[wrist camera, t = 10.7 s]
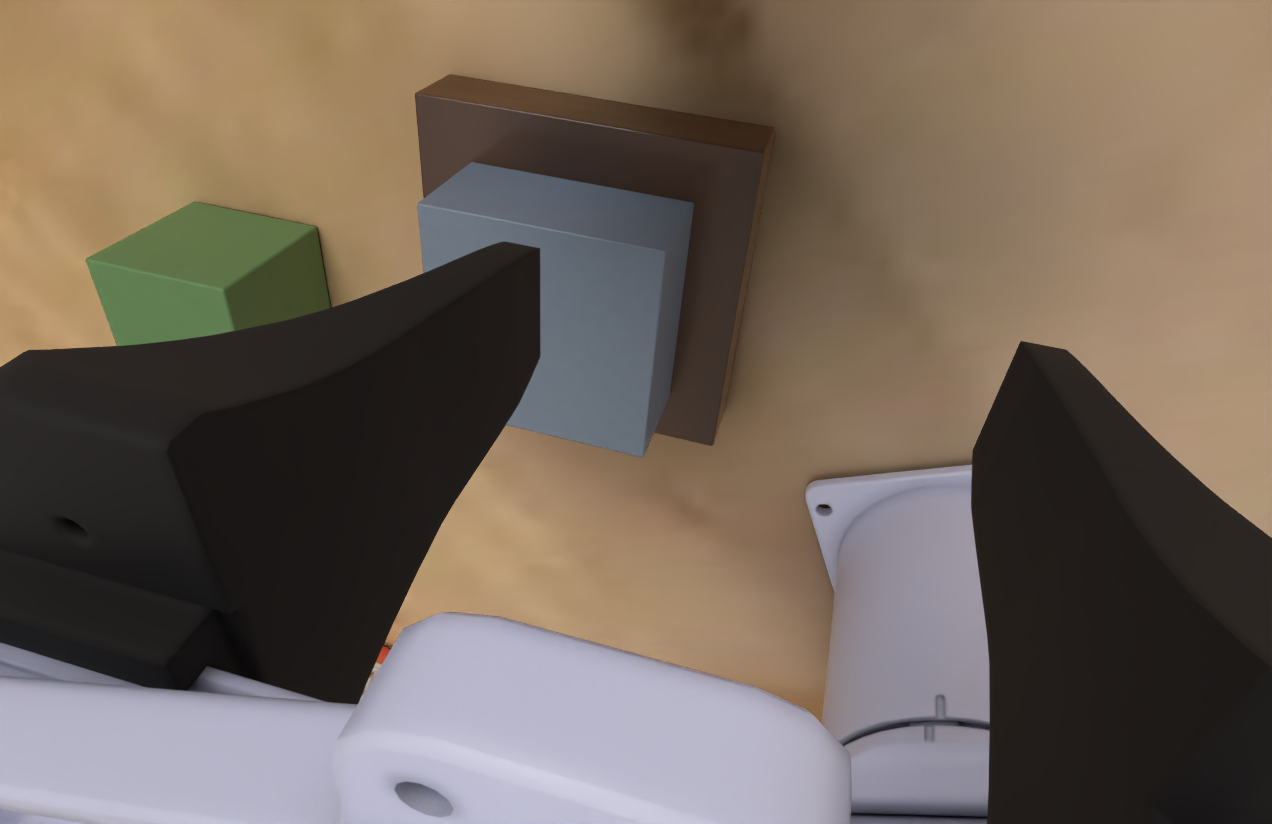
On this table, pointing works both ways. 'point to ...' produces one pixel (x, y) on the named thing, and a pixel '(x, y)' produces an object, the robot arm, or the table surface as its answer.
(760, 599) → the table surface
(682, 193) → the walnut slab
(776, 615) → the table surface
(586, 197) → the blue-grey block
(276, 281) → the green block
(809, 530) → the table surface
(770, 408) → the table surface
